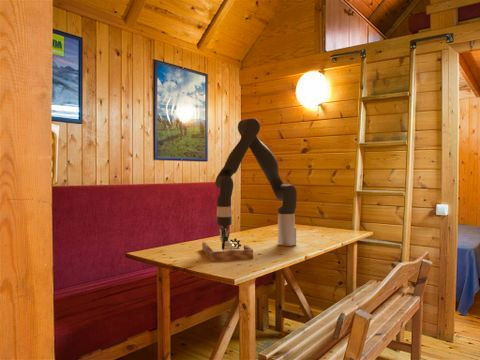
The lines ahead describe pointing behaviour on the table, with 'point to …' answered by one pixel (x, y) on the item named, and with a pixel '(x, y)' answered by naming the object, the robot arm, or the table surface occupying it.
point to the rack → (227, 253)
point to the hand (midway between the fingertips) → (224, 249)
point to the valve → (230, 244)
